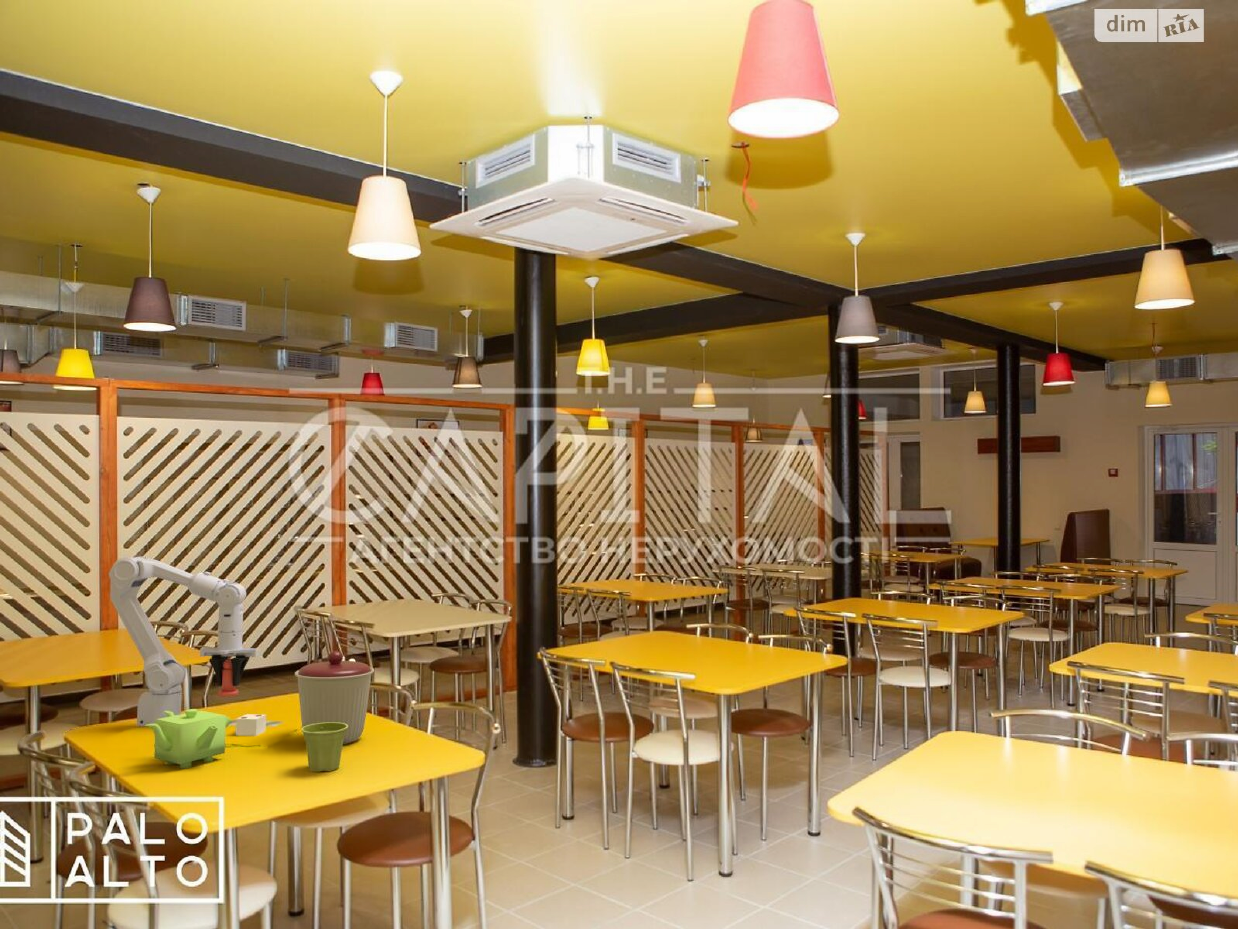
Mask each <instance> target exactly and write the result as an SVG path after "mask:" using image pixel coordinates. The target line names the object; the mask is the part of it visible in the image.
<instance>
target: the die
mask: <svg viewBox="0 0 1238 929" xmlns="http://www.w3.org/2000/svg"><path fill="white" fill-rule="evenodd" d="M235 720H236V726H235V736H239V737H240V736H242V737H243V736H245V737H257V736H259V735H261V734H263V733H265V732H266V731H267V730H266V729H267V726H266V721H267V714H257V713H256V714H252V713H251V714H250V713H247V714H244V715H242V716H240V717H237V718H236V719H235Z"/></svg>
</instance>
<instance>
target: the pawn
mask: <svg viewBox="0 0 1238 929" xmlns="http://www.w3.org/2000/svg"><path fill="white" fill-rule="evenodd" d="M231 659H232V658H228V659H227V660H225V661H224V663H223V667H224V669H222V686H221V690H219V691H218V696H219V697H220V698H221V697H223V698H224V697H225V698H227V697H228V698H229V697H236V696H238V695H239V689H236V687H237V686H233V669H232V663H231Z"/></svg>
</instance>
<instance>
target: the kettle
mask: <svg viewBox="0 0 1238 929" xmlns="http://www.w3.org/2000/svg"><path fill="white" fill-rule="evenodd" d="M164 712H165V713H166V715H167V717H165V718H160V719H156V724H147V725H145V726H144V727H149V728H150V729H152V731H153V734H154V753H153V754H154V757H153V758H154V759H157V760H161V761H165V762H164V765H174V763H175V764H177V765H179V769H189V768H192V762H194V761H199V760H202V761H203V762H202V763H213V762H215V759H214V758H213V757H215V756H218V755H222V754H225V752H226V729H227V727H228V726H230V725H229V724H230V723H231V722H232V721H231V720H232V719H231V718H230V717H229V716H227V715H225V714H220V713H215V712H210V711H205V710H198V709H196V708H190V709H185V710H184V712H185V713H181V714H180V715H174V713H173V712H171V711H164Z"/></svg>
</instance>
